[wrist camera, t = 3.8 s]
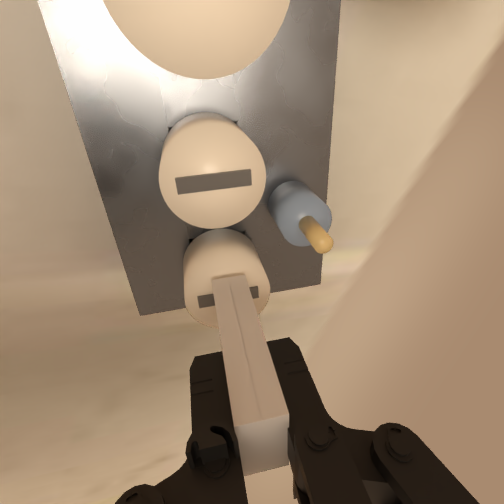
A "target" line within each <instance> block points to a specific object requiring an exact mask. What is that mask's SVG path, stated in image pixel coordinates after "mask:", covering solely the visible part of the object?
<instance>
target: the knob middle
mask: <svg viewBox="0 0 504 504" xmlns="http://www.w3.org/2000/svg"><path fill="white" fill-rule="evenodd" d="M265 184H266V169H265V164H264V160H263V158H262V155H261V153H260V151H259V150H258V148H257V147H256V145H255V144H254V143H253V142H252V141H251V140H250V138H249V137H248V136H247V135H246V134H245V133H244V132H243V131H242V130H241V129H240V128H239V127H238V126H237V125H236V124H235V123H234V122H233V121H231V120H230V119H228V118H226V117H224V116H222V115H220V114H216V113H210V112H200V113H195V114H192V115H189V116H187V117H184V118H183V119H181V120H180V121H178V122H177V123H176V124H175V125H174V126H173V127H172V128H171V130H170V131H169V133H168V134H167V136H166V138H165V141H164V144H163V148H162V155H161V161H160V167H159V186H160V190H161V193H162V196H163V198H164V200H165V202H166V204H167V205H168V207H169V208H170V209H171V211H172V212H173V213H174V214H175V215H176V216H178V217H179V218H180V219H182V220H183V221H185V222H187V223H188V224H191V225H193V226H196V227H200V228H206V229H218V228H224V227H228V226H231V225H234V224H236V223H238V222H240V221H241V220H243V219H244V218H246V217H247V216H248V215H249V214H250V213H251V212H252V211H253V210H254V209H255V207H256V206H257V205H258V203H259V201H260V200H261V197H262V195H263V192H264V189H265Z"/></svg>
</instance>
